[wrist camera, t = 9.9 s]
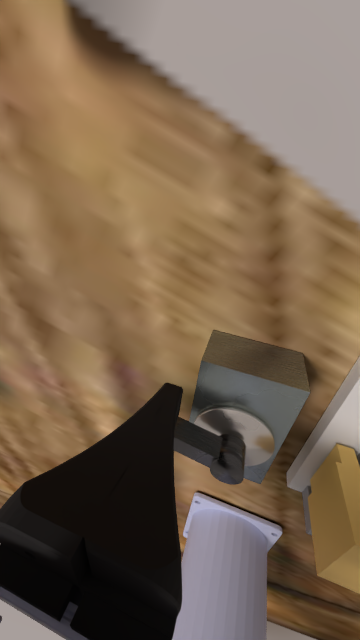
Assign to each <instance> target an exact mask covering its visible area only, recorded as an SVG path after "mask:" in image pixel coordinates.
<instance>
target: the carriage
mask: <svg viewBox="0 0 360 640" xmlns="http://www.w3.org/2000/svg"><path fill="white" fill-rule="evenodd" d="M310 483H311V490H312V493H311V494H310V495H309V496H308V505H309V513H310V522H311V530H312V538H313V546H314V555H315V563H316V571H317V576H320V577H322V578H324V579H326V580H329V581H331V582H333V583H336V584H338V585H340V586H342V587H345V588H347V589H349V590H352V591H354V592H356V593H358V594H360V466H359V463H358V460H357V457H356V454H355V451H354V449H352V448H349V447H346V446H342V445H339V444H336V445H335V447H334V448H333V450H332V451H331V452H330V454H329V455H328V456H327V458H326V459H325V460H324V462H323V463H322V464H321V466H320V467H319V468H318V470H317V471H316V473H315V474H314V475H313V477H312V478H311V479H310Z"/></svg>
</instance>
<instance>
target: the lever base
mask: <svg viewBox="0 0 360 640" xmlns="http://www.w3.org/2000/svg"><path fill="white" fill-rule="evenodd" d="M309 394H310V388H309V382H308V377H307V372H306V367H305V362H304V357H303V353H300V352H296V351H292V350H288V349H284V348H281V347H277V346H273V345H269V344H265V343H262V342H258V341H254V340H250V339H246V338H243V337H239V336H235V335H231V334H227V333H223V332H220V331H216V330H213V332H212V334H211V337H210V340H209V342H208V345H207V347H206V350H205V352H204V355H203V358H202V360H201V365H200V370H199V375H198V380H197V385H196V390H195V395H194V400H193V405H192V410H191V415H190V420H189V422H191V423H193V424H195V425H197V426H199V427H201V428H203V429H206V430H208V431H210V432H212V433H214V434H216V435H218V436H220V435H222V434H231V435H234V436H237V437H239V438H240V439H241V440H243V441H244V443H245V445H246V455H245V466H244V478H245V479H248V480H251V481H253V482H256V483H259V484H261V482H262V480H263V478H264V477H265V475H266V473H267V471H268V469H269V467H270V466H271V464H272V462H273V460H274V458H275V456H276V455H277V453H278V451H279V449H280V447H281V445H282V444H283V442H284V440H285V438H286V436H287V434H288V433H289V431H290V429H291V427H292V425H293V423H294V422H295V420H296V418H297V416H298V414H299V412H300V411H301V409H302V407H303V405H304V403H305V401H306V400H307V398H308V396H309Z"/></svg>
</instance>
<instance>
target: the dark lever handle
mask: <svg viewBox="0 0 360 640" xmlns="http://www.w3.org/2000/svg"><path fill="white" fill-rule="evenodd" d="M174 451H177V452H179V453H181V454H183V455H185V456H187V457H189V458H191V459H193V460H195V461H197V462H199V463H201V464H203V465H205V466H207V467H209V468H210V472H211V474H212V475H213V476H214V477H215V478H216V479H218V480H219V481H221V482H224V483H227V484H239V483H241V482H242V481H243V478H244V466H245V455H246V445H245V443H244V441H243V440H241V439H240V438H239V437H237V436H234V435H231V434H222V435H220V436H218V435H216V434H214V433H212V432H210V431H208V430H206V429H203V428H201V427H199V426H197V425H195V424H193V423H191V422H189V421H186V420H184V419H182V418H180V417H178V419H177V422H176V426H175V430H174Z"/></svg>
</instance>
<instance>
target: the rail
mask: <svg viewBox="0 0 360 640" xmlns="http://www.w3.org/2000/svg"><path fill="white" fill-rule="evenodd" d="M336 444H339V445H342V446H346V447H349V448H352V449H354V451H355V454H356V457H357V460H358V463H359V466H360V356H359V358H358V359H357V361H356V363H355V364H354V366H353V367H352V369H351V371H350V372H349V374H348V375H347V377H346V379H345V380H344V382H343V383H342V385H341V387H340V388H339V390H338V391H337V393H336V395H335V396H334V398H333V399H332V401H331V403H330V404H329V406H328V407H327V409H326V411H325V412H324V414H323V415H322V417H321V419H320V420H319V422H318V423H317V425H316V427H315V428H314V430H313V431H312V433H311V435H310V436H309V438H308V439H307V441H306V443H305V444H304V446H303V447H302V449H301V451H300V452H299V454H298V455H297V457H296V459H295V460H294V462H293V463H292V465H291V467H290V468H289V470H288V471H287V473H286V474H287V487H289V488H291V489H294V490H297V491H299V492H302V496H303V506H304V515H305V525H306V533H307V534H310V535H312V530H311V522H310V513H309V505H308V496H309V495H310V494H311V493H312V490H311V483H310V479H311V478H312V477H313V475H314V474H315V473H316V471H317V470H318V468H319V467H320V466H321V464H322V463H323V462H324V460H325V459H326V458H327V456H328V455H329V454H330V452H331V451H332V450H333V448H334V447H335V445H336Z"/></svg>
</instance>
